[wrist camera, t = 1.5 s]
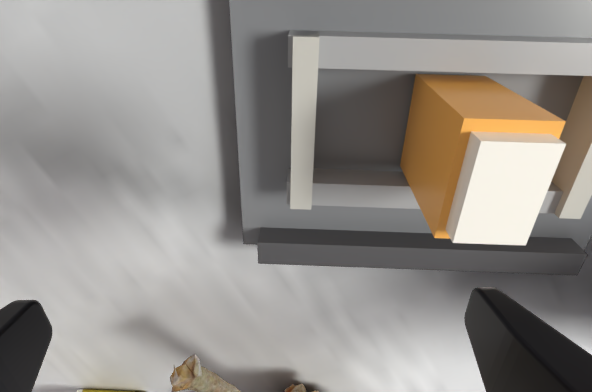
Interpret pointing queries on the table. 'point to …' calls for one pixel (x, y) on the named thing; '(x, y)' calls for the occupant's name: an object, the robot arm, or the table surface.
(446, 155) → the toggle
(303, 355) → the table surface
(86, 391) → the juice carton
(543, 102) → the grey rectangular tray
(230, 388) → the pine cone
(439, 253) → the grey rectangular base plate
